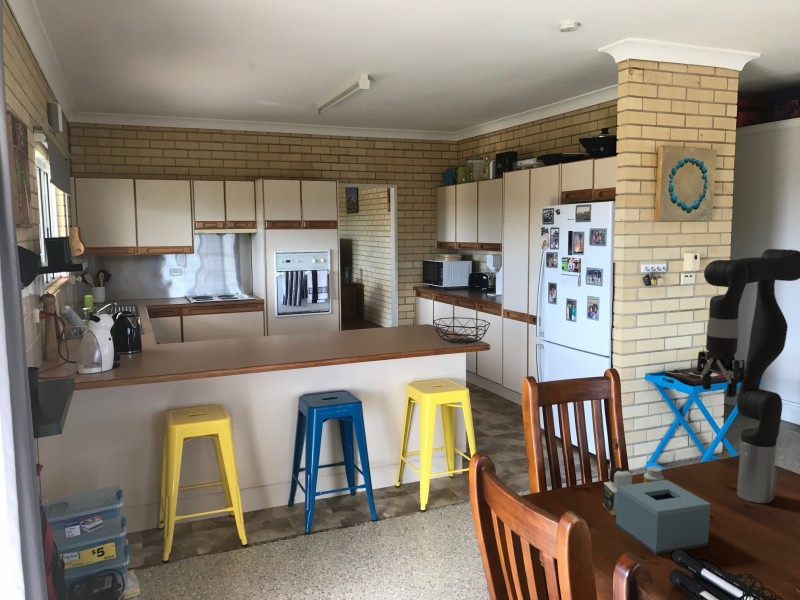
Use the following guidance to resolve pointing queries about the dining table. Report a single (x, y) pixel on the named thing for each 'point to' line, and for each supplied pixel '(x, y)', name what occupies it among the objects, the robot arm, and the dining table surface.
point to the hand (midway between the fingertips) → (718, 393)
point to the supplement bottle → (653, 474)
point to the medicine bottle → (615, 487)
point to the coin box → (663, 516)
